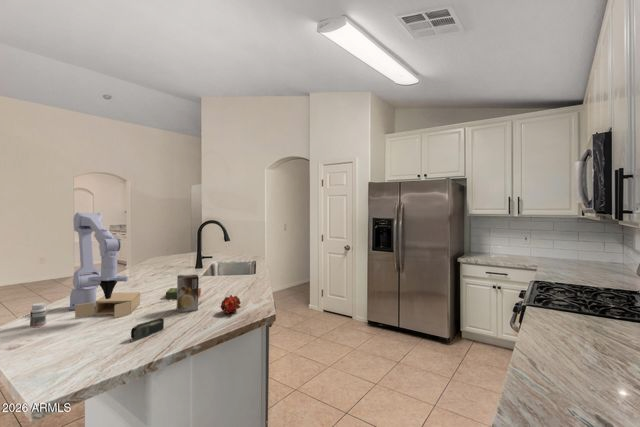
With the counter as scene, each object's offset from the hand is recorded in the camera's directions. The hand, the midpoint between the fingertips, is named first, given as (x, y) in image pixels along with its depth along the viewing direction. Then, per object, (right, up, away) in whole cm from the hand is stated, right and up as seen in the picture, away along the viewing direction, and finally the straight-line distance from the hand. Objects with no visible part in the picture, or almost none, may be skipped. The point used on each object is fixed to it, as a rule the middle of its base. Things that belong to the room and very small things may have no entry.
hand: (108, 298), depth 138 cm
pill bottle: (-21, -8, -11) cm, 25 cm away
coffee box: (+27, -10, +16) cm, 33 cm away
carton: (+17, -9, +36) cm, 41 cm away
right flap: (+4, -8, +3) cm, 10 cm away
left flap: (-10, -8, 0) cm, 13 cm away
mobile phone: (+25, -10, -15) cm, 31 cm away
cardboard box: (-3, -8, +12) cm, 14 cm away
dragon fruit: (+48, -11, +14) cm, 51 cm away
